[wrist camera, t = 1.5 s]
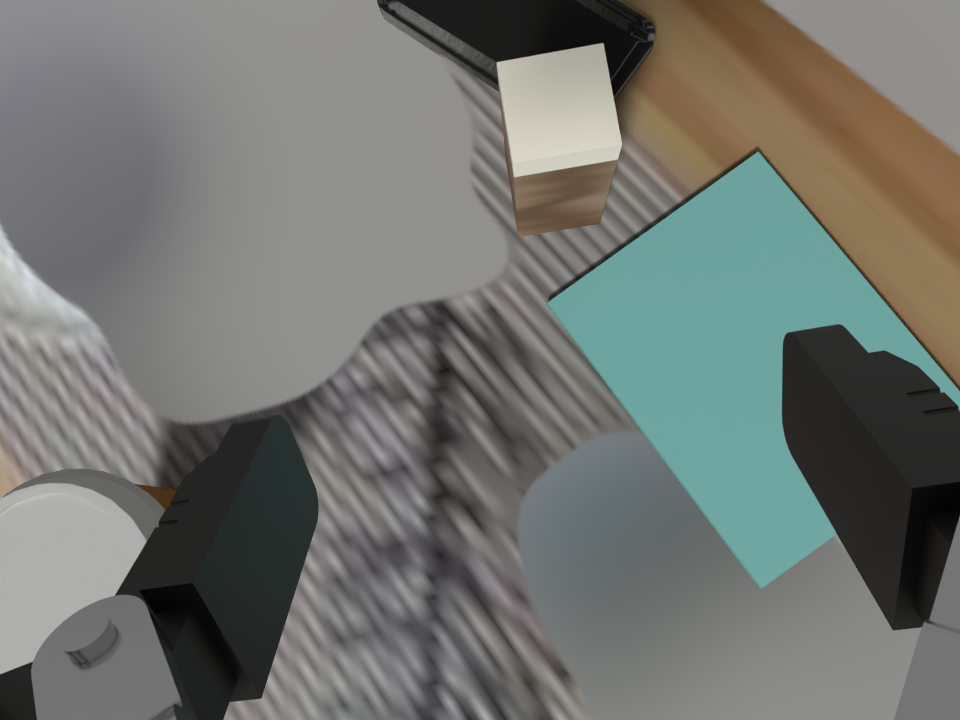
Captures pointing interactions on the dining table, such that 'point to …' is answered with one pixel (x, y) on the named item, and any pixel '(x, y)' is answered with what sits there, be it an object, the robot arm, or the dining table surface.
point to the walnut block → (559, 137)
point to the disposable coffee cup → (67, 550)
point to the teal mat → (729, 351)
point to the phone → (524, 31)
